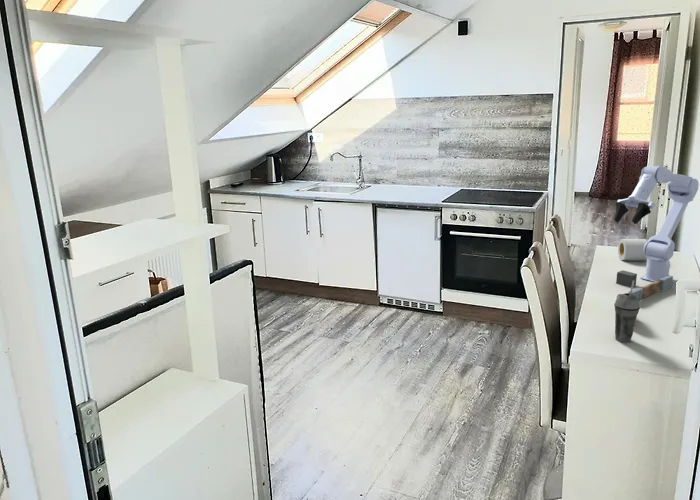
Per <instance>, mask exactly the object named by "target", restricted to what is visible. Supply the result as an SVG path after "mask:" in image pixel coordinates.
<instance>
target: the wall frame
mask: <svg viewBox="0 0 700 500" xmlns="http://www.w3.org/2000/svg"><path fill="white" fill-rule="evenodd" d="M673 279H674V275H670V274H669V275H668V276H666V277H663V278H660V279H659V280H661V288H660V291H659V292H664V291H665V290H668V289H670V288H672V285H673V281H674V280H673ZM628 293H629V294H630V290H629V291H628ZM642 294H643V289H641V287H635V288H633V290H632V295H634V296H635V297H636V298H637V299H638V301H639V302H641V301H642V300H643V298H642Z"/></svg>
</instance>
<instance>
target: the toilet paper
mask: <svg viewBox="0 0 700 500" xmlns="http://www.w3.org/2000/svg"><path fill="white" fill-rule="evenodd" d="M647 242H648V239H646V238H620V240H619V241H618V246H617V247H618V248H617V255H618V258H619V260H621V261H638V262H639V261H642V262H643V261H647V258H646V255H645V254H644V252H643V249H644V245H645V244H646V243H647Z"/></svg>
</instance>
